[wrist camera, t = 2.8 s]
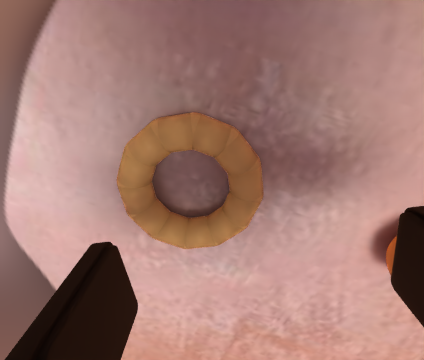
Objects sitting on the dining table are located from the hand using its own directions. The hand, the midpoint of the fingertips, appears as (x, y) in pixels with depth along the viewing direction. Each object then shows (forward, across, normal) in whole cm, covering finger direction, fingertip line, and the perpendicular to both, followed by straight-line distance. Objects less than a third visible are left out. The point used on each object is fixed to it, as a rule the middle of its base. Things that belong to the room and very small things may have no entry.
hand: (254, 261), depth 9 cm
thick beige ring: (+6, +3, 0) cm, 6 cm away
